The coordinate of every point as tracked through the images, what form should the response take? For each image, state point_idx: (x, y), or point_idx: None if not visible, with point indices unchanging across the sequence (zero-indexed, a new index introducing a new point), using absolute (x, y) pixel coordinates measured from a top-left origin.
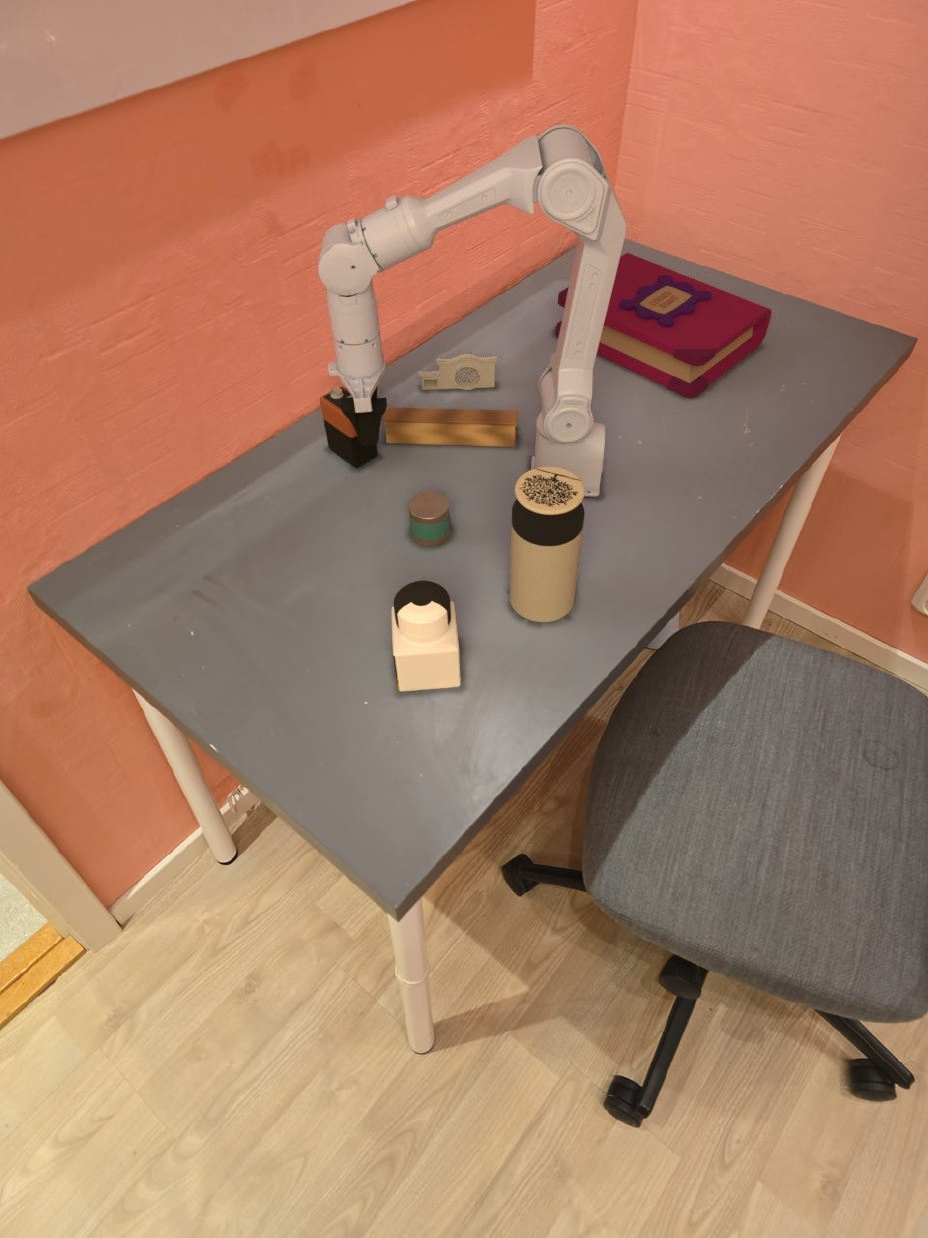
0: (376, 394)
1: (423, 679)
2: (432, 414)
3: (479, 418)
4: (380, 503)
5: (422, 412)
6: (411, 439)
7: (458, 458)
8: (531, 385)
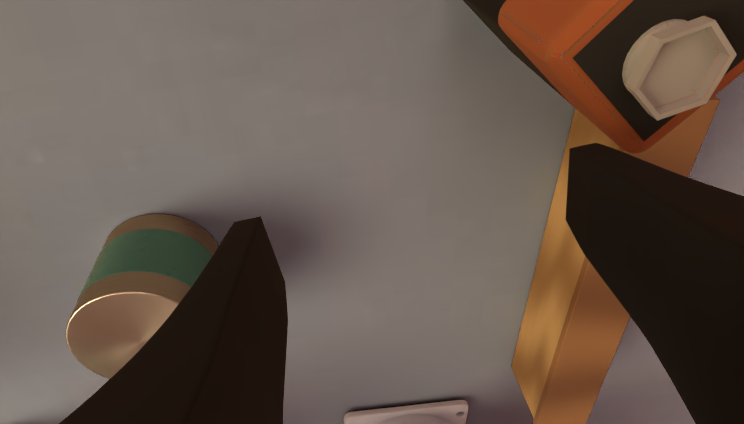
0: (613, 289)
1: None
2: None
3: (570, 368)
4: (265, 101)
5: None
6: None
7: (481, 271)
8: None
